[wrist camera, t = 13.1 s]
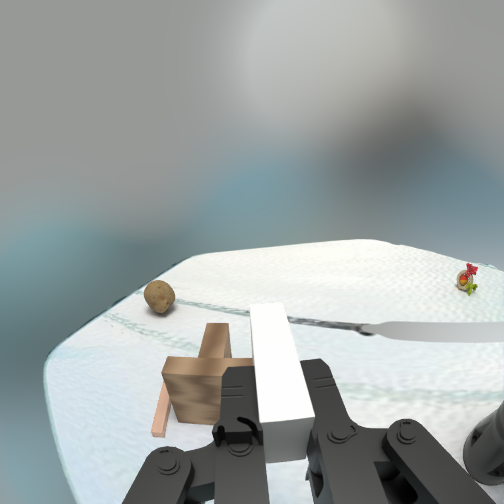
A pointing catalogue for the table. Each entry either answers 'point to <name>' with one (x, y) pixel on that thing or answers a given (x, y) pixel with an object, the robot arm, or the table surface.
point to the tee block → (201, 377)
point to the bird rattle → (464, 279)
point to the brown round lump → (159, 296)
